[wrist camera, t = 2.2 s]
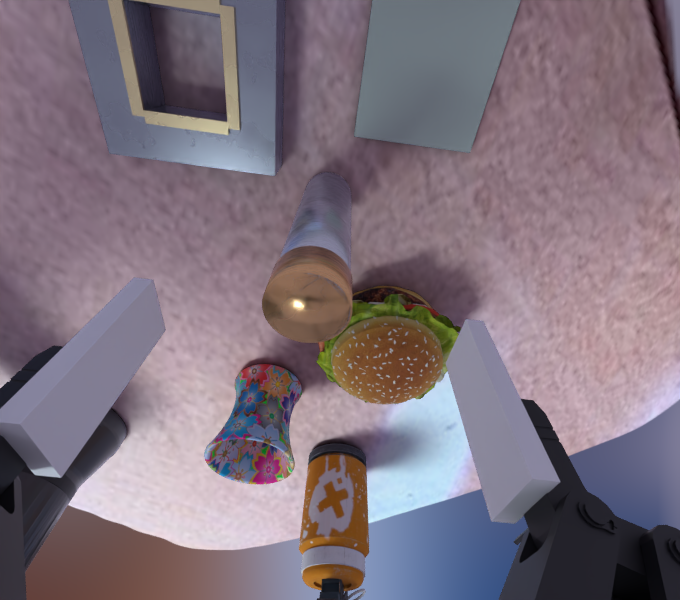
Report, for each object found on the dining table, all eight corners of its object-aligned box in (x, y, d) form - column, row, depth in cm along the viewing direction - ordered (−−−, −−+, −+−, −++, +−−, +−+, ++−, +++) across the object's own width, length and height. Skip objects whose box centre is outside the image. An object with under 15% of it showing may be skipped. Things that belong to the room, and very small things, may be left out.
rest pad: (354, 134, 26) (354, 136, 25) (375, -26, 20) (376, -28, 20) (467, 151, 26) (469, 153, 25) (517, -2, 21) (521, -4, 20)
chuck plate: (131, 145, 26) (107, 154, 24) (81, -75, 19) (40, -96, 17) (281, 165, 27) (274, 176, 24) (286, -41, 20) (276, -56, 17)
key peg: (302, 216, 29) (262, 338, 17) (305, 167, 27) (261, 265, 14) (349, 222, 30) (345, 347, 17) (356, 174, 27) (359, 277, 14)
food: (392, 386, 43) (400, 444, 36) (300, 336, 38) (290, 392, 32) (477, 320, 36) (504, 377, 29) (377, 250, 31) (383, 299, 25)
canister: (363, 438, 50) (368, 621, 33) (368, 475, 56) (375, 643, 40) (304, 440, 50) (282, 620, 34) (316, 476, 57) (302, 642, 41)
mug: (275, 346, 39) (253, 427, 30) (320, 390, 43) (312, 471, 35) (203, 381, 43) (166, 460, 34) (251, 418, 48) (229, 497, 39)
